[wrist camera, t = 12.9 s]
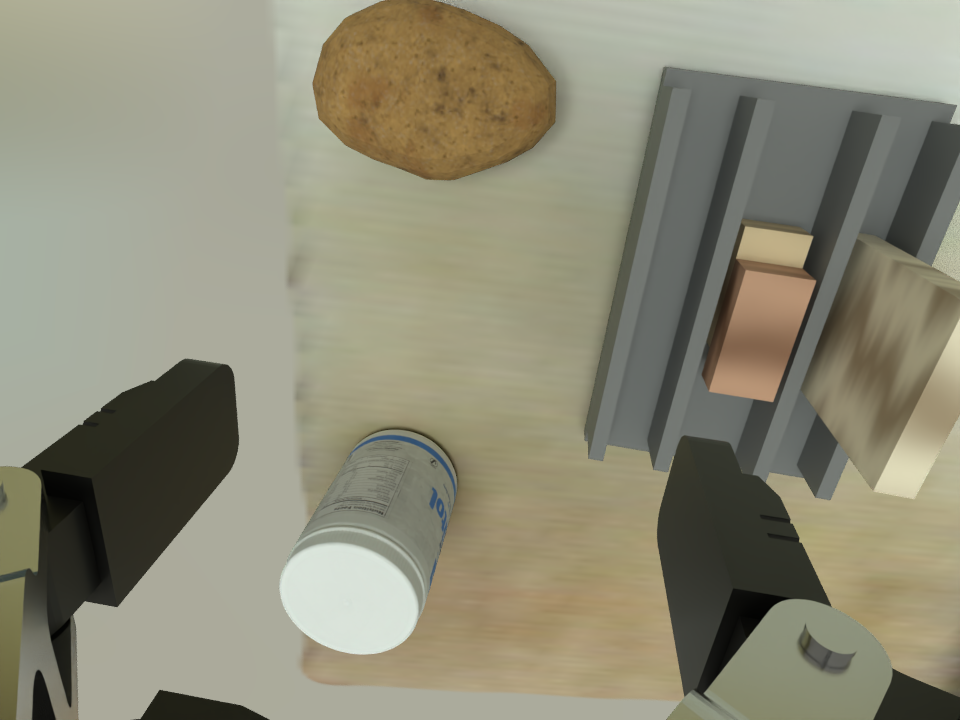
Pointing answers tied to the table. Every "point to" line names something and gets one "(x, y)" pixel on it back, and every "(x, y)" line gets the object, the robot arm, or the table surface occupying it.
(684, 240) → the rack
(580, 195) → the table surface
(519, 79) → the potato
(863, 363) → the sheet
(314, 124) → the table surface
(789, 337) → the offcut upper
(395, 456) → the supplement tub
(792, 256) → the offcut lower
